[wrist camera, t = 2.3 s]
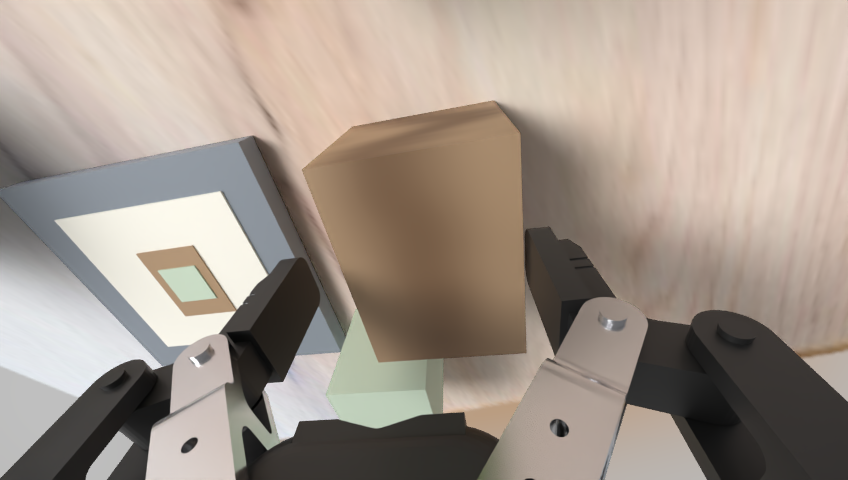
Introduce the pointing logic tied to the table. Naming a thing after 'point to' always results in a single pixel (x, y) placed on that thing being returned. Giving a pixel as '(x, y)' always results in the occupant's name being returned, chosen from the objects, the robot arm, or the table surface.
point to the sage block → (382, 384)
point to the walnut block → (429, 231)
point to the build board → (172, 240)
